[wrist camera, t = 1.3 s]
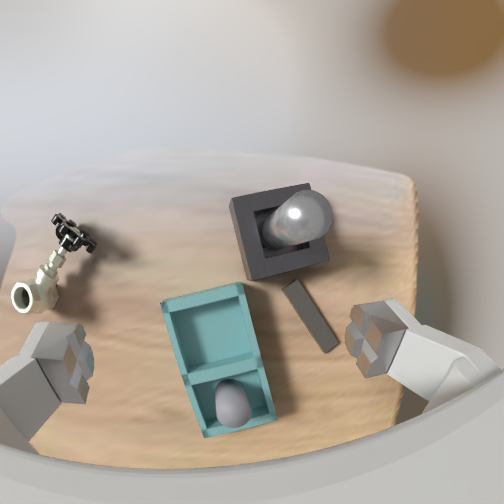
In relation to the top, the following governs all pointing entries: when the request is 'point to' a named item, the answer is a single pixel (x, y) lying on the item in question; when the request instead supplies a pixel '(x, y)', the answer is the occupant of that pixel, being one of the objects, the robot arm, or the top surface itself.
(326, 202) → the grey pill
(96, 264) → the top surface
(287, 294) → the bar
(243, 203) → the socket block
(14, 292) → the valve
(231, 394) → the rack
